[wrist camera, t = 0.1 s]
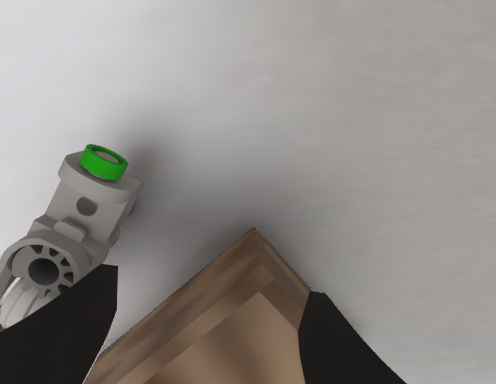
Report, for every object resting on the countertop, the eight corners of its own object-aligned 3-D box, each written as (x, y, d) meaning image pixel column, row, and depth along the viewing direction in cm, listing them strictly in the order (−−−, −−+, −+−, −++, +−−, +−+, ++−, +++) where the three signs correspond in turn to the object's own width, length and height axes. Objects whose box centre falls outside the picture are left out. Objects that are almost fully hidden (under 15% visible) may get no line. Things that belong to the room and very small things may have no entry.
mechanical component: (178, 148, 22) (136, 180, 12) (109, 275, 24) (23, 392, 14) (136, 124, 21) (57, 137, 12) (68, 256, 23) (-49, 362, 13)
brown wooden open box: (208, 448, 28) (202, 539, 22) (99, 355, 25) (58, 429, 19) (356, 339, 26) (392, 406, 20) (254, 227, 23) (261, 266, 17)
